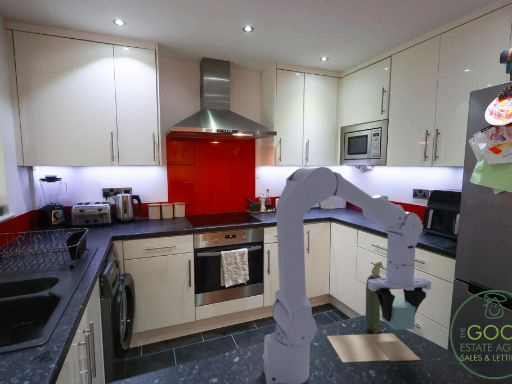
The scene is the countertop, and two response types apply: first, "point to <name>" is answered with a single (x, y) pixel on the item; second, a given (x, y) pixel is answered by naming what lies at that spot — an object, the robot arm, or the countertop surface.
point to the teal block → (401, 315)
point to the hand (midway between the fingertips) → (397, 318)
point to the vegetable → (373, 302)
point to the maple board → (371, 348)
